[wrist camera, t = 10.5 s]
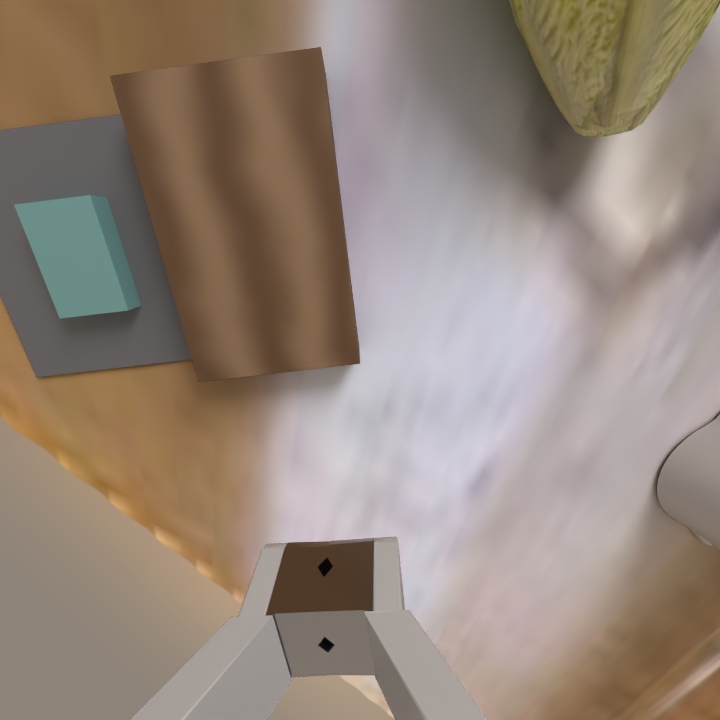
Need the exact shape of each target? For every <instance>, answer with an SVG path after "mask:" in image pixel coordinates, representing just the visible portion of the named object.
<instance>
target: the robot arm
mask: <svg viewBox="0 0 720 720" xmlns="http://www.w3.org/2000/svg"><path fill="white" fill-rule="evenodd" d="M657 496H658V500H659V503H660V505H661V507H662V508H663V510H664V511H665V512H666V513H667V514H668V515H669V516H670V517H671V518H673V519H675V520H676V521H678V522H680V523H682V524H683V525H685V526H687V527H688V528H690V529H691V531H692V532H693V534H694V535H695V536H696V537H697V538H698V539H700V540H701V541H702V542H704V543H705V544H707V545H710V546H713V545H714V546H715V547H716V548H718V549H719V550H720V414H719V415H718V416H717V418H716V419H714V420H713V421H712V422H710V423H709V424H707V425H706V426H704V427H702V428H701V429H699V430H697V431H696V432H694V433H693V434H691V435H690V436H689V437H687V438H686V439H685V440H684V441H683V442H682V443H681V444H680V445H678V447H677V448H676V449H675V450H674V451H673V452H672V453H671V455H670V456H669V457H668V459H667V460H666V462H665V464H664V465H663V468H662V470H661V472H660V475H659V478H658V483H657ZM323 675H375V677H376V680H377V682H378V684H379V686H380V688H381V690H382V693H383V695H384V697H385V699H386V701H387V703H388V705H389V707H390V710H391V712H392V714H393V716H394V718H395V720H487V719H486V717H485V716H484V714H483V713H482V712H481V710H480V709H479V707H478V706H477V705H476V703H475V702H474V700H473V699H472V698H471V696H470V695H469V693H468V692H467V690H466V689H465V688H464V686H463V685H462V683H461V682H460V681H459V679H458V678H457V676H456V675H455V674H454V672H453V671H452V669H451V668H450V666H449V665H448V664H447V662H446V661H445V659H444V658H443V657H442V655H441V654H440V652H439V651H438V650H437V648H436V647H435V645H434V644H433V642H432V641H431V640H430V638H429V637H428V635H427V634H426V633H425V631H424V630H423V628H422V627H421V626H420V624H419V623H418V621H417V620H416V619H415V617H414V616H413V614H412V613H411V611H410V610H405V605H404V594H403V585H402V575H401V566H400V557H399V547H398V539H397V537H383V538H375V539H374V538H366V539H351V540H336V541H330V542H294V543H273V544H266V545H265V546H264V548H263V549H262V551H261V553H260V556H259V559H258V562H257V565H256V567H255V570H254V573H253V576H252V579H251V582H250V584H249V587H248V590H247V593H246V596H245V598H244V601H243V604H242V607H241V610H240V612H239V615H238V616H236V617H231V618H230V619H229V620H228V621H227V622H226V623H225V624H224V625H223V626H222V627H221V628H220V629H219V630H218V631H217V632H216V633H215V634H214V635H213V636H212V637H211V638H210V639H209V640H208V641H207V642H206V643H205V644H204V645H203V646H202V647H201V648H200V649H199V650H198V652H196V653H195V654H194V656H193V657H192V658H191V659H190V660H189V661H188V662H187V663H186V664H185V665H184V666H183V667H182V668H181V669H180V670H179V671H178V672H177V673H176V674H175V675H174V676H173V677H172V678H171V679H170V680H169V681H168V682H167V683H166V684H165V685H164V686H163V687H162V688H161V690H160V691H158V693H157V694H155V696H154V697H153V698H152V699H151V700H150V701H149V702H148V703H147V704H146V705H145V706H144V707H143V708H142V709H141V710H140V711H139V712H138V713H137V714H136V715H135V716H134V717H133V718H132V719H131V720H268V718H269V717H270V715H271V714H272V712H273V710H274V709H275V707H276V705H277V704H278V702H279V700H280V699H281V697H282V696H283V694H284V692H285V691H286V689H287V688H288V686H289V684H290V683H291V681H292V680H291V677H307V676H323Z"/></svg>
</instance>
